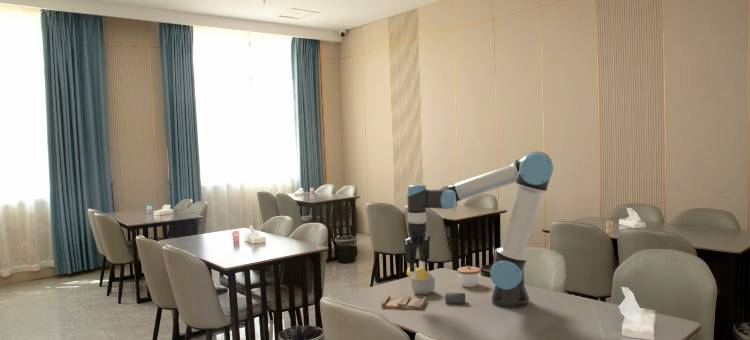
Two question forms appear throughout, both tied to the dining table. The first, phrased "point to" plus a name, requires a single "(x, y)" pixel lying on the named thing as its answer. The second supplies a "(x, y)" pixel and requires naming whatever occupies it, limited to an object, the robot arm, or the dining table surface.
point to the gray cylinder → (455, 298)
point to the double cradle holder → (404, 303)
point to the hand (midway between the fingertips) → (417, 277)
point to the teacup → (423, 285)
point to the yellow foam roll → (419, 274)
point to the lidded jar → (469, 276)
